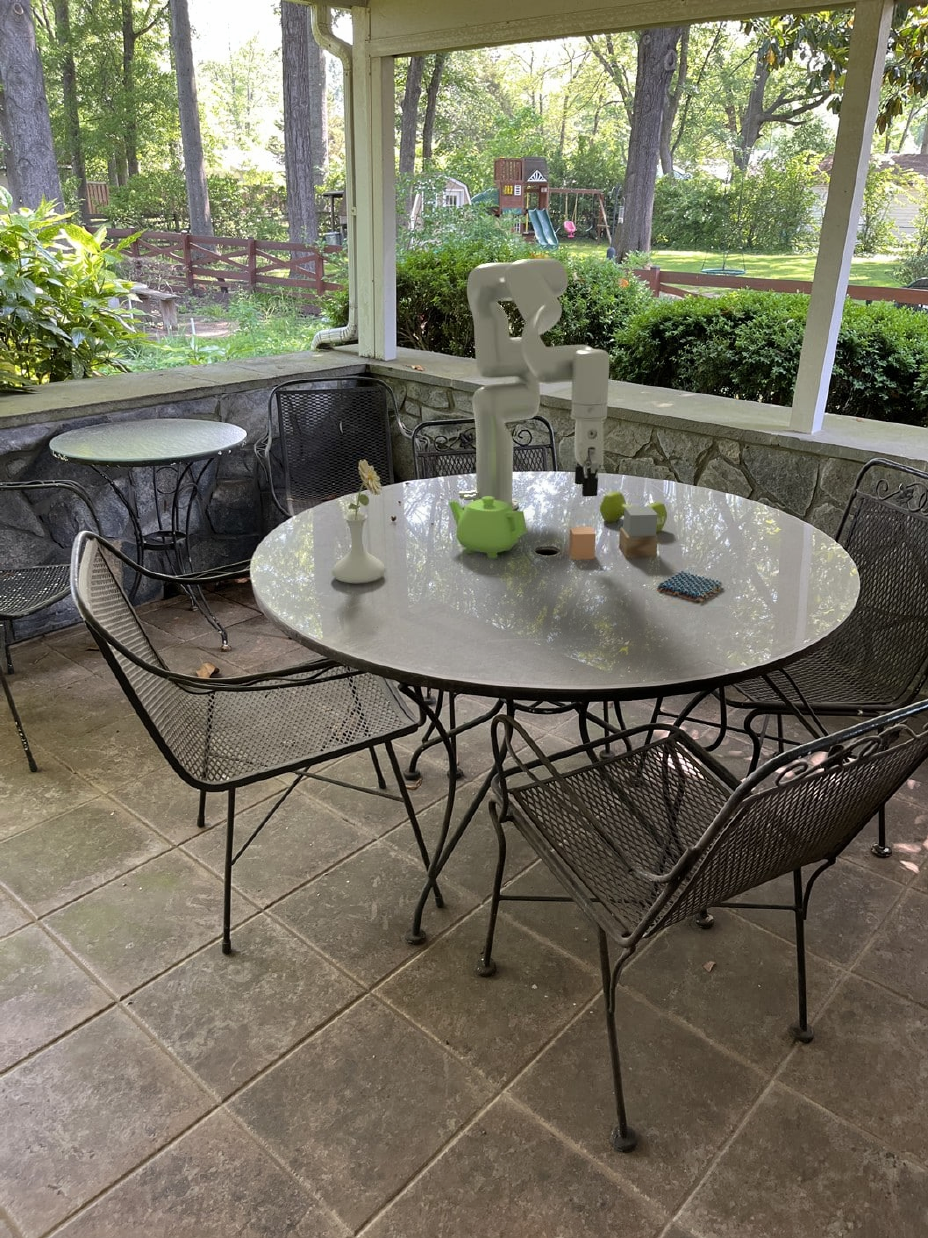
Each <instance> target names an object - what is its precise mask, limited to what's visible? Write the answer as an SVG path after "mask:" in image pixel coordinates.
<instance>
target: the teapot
mask: <svg viewBox="0 0 928 1238" xmlns="http://www.w3.org/2000/svg"><path fill="white" fill-rule="evenodd" d="M494 499H495V498H494V497H492V496H485V497H482V499H479V500H476V501H473V502H471V501H470V502H469V503H467V504H466V506H465V507H464V508H463V507H462V506H461V505H460V504H459V502H458V500H457V501H456V500H451V501H449V502H448V505H449V507H450V510H451V513H452V516H453V518H454V520H455V524H456V526H457V527H456V539H457V541H458V543H459V544H460V545H461V546H462V547H463V548H465V550H464V551H463V552H464V553H465V554H473V553H476V552H480V553H486V558H488V559H498V553H503V552H506V551H511V550H512V548H513V547H514V546H515V545H516V544H517V542H518V541H519V539H520V537H522V536H524V535H525V534H527V533H528V528H527V524H526V519H525V514H524V511H523V510H513V509H512V507H511V505H510V504H508V503H506V502H503V501H499V500H494Z"/></svg>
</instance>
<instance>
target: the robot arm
mask: <svg viewBox="0 0 928 1238" xmlns="http://www.w3.org/2000/svg"><path fill="white" fill-rule="evenodd" d="M568 283H569V276H568V272H567V269H566V268H565V266H564V265H563V263H562V262H561V261H559V260H558V259H556V258H526V259H519V260H516V261H514V262H490V263H484V264H480V265H478V266H476V267H474V268H473V269H472V270H471V272H470V273H469V275H468V278H467V284H466V294H467V300H468V304H469V307H470V311H471V314H472V319H473V327H474V328H473V330H474V331H473V332H474V333H473V334H474V335H473V336H474V346H475V347H474V350H475V351H474V352H475V364H476V365H475V366H476V370H477V373H478V375H479V376H480V377H481V378H484V379H488V380H489V379H491V380H493V379H494V380H495V379H506V378H507V379H508V378H514V379H515V380H514V381H515V382H508V383H507V382H506V383H505V382H504V383H495V384H494V383H493V384H487V385H483V386H482V387H481V386H480V388H478V389H477V390H476V391H475V392H474V393H473V395H472V400H471V404H472V412H473V418H474V423H475V443H476V444H475V445H476V446H475V447H476V449H475V450H476V452H475V454H476V455H475V456H476V465H475V466H476V469H475V470H476V473H475V474H476V477H475V478H476V479H475V480H476V481H475V482H476V485H475V487H474V489H473V490H472V489H471V490H470V491H464V490H463V491H462V490H461V491H458V494H459V496H458V497H459V499H461V500H462V499H464V501H470V503H471V502H473V501H476V500H479V499H482V497H485V496H492V497H494V498H495V499H494V500H499V501H503V502H506V503H508V504H510V505H511V507H512V509H513V511H515V510H516V509H517V508H518V506H519V501H518V500H517V499H516V498H514V497H513V479H514V478H513V475H514V474H513V473H514V472H513V470H514V469H513V468H514V440H513V439H514V438H513V436H512V434H511V432H510V431H509V430H508V428H507V427H506V423H511V422H518V421H525V420H531V419H533V418H534V417H536V415H537V414H538V412H539V409H540V403H541V395H540V393H541V392H540V389H541V387H540V383H542V384H546V385H548V384H549V385H551V384H559V383H560V384H561V383H571V401H570V403H571V404H570V405H571V407H570V418H571V419H572V420H575V422H574V423H575V425H574V427H575V428H574V448H573V449H574V458H575V466H574V467H575V468H574V469H575V470H574V471H575V472H574V483H575V484H574V485H581V486H582V487H581V495H582V497H597V496H598V490H599V489H598V488H599V487H598V486H599V472H598V467H600V468H601V467H603V465H604V448H605V447H604V446H605V445H604V443H605V442H604V441H605V440H604V439H605V437H604V422H603V421H604V420H606V419H607V418H608V417H607V416H608V398H609V379H610V378H609V376H610V354H609V352H607V351H606V350H604V349H598V348H593V347H591V346H589V345H587V344H570V345H569V344H568V345H554V346H546V345H545V343H544V341H543V340H542V338H541V335H543V334H545V333H546V332H547V331H549V330H551V329H552V328H553V327H554V326H555V325H556V324H557V323H558V322H559V320H560V318H561V317H562V314H563V313H562V312H563V311H562V310H563V307H562V304H561V303H560V301H559V299H558V298H559V297H561V296H562V295H563V294H564V293H565V292H566V290H567V287H568ZM503 301H506V302H507V301H508V302H511V301H513V302H514V304H515V306H516V308H517V309H518V312H519V314H520V315H521V317H522V319H523V320H524V323H525V324H524V326H523V329H522V333H521V336H517V337H510V332H509V331H510V328H509V326H510V325H509V319H508V315H507V313H506V311H505V309H503V307H502V305H500V303H499V302H503Z"/></svg>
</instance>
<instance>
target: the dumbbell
mask: <svg viewBox="0 0 928 1238" xmlns="http://www.w3.org/2000/svg"><path fill="white" fill-rule="evenodd" d="M600 503H601V504H600V505H599V512H600V515H601V517H602V519H603V520H604V521H605V522H608V523H613V522H615V521H619V520H620V519H622V517H624V510H625V507H637V506H635V505H631V504H627V502H626V500H625V497H624V495H623V494H622V493H621V492H619V491H616V490H615V491H611V492H607V493H606V494H605V495H604V497H603V498H602V501H601V502H600ZM645 507H652V509H653V510H654V511H655V512H656V513H657V514H658V517H657V528H656V534H657V533H660V532H661V531H662V530H663V528H664V527H665V524H666V521H667V518H668V512H667V508H666V506H665V504H664V503H662V502H659V501H655V502H650V503H648V504H646V505H645Z"/></svg>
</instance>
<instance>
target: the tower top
mask: <svg viewBox="0 0 928 1238" xmlns="http://www.w3.org/2000/svg"><path fill="white" fill-rule="evenodd" d="M657 517H658V514H657V513H656V512H655V511H654V510H653V509H652V507H646V506H636V507H625V510H624V516H623V525H622V527H623V529H624V530H625V532H626V533H627V534H628V536H629V537H644V536H656V535H657V533H656V528H657Z"/></svg>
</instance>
